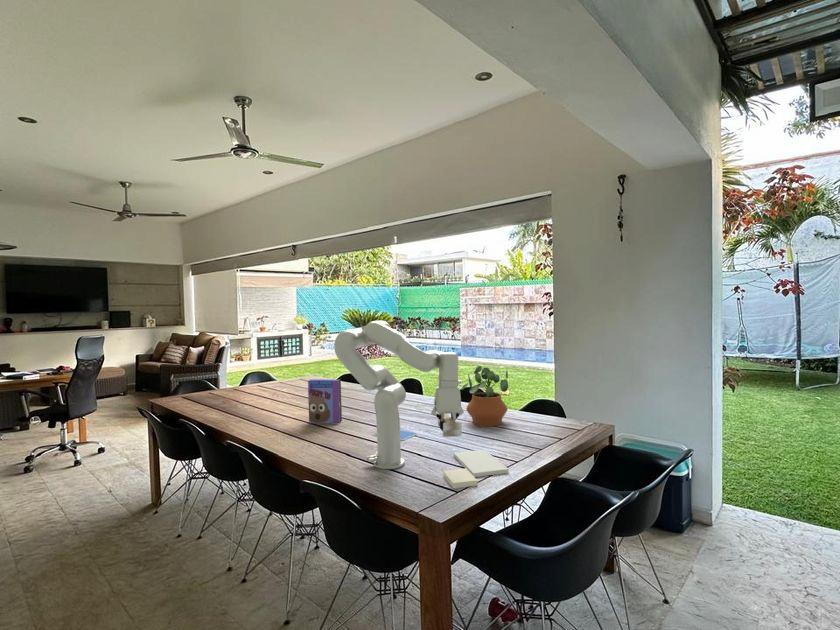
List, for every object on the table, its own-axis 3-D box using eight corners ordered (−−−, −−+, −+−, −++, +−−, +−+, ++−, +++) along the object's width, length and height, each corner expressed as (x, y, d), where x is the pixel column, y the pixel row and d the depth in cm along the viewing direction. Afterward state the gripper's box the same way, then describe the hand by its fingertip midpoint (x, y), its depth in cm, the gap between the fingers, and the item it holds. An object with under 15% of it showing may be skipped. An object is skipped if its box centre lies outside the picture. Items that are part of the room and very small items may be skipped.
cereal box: (309, 423, 249) (307, 380, 249) (312, 421, 254) (310, 379, 253) (339, 423, 247) (338, 380, 247) (341, 421, 252) (340, 379, 251)
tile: (443, 477, 169) (453, 489, 157) (443, 470, 169) (453, 483, 157) (465, 474, 171) (477, 486, 159) (465, 468, 171) (477, 480, 159)
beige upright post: (443, 436, 167) (443, 423, 167) (433, 425, 182) (433, 413, 181) (461, 435, 169) (461, 422, 168) (449, 424, 183) (450, 412, 183)
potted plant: (516, 421, 244) (515, 366, 243) (489, 433, 222) (487, 373, 221) (480, 415, 258) (479, 363, 258) (452, 426, 237) (450, 369, 236)
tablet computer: (372, 436, 224) (372, 433, 224) (388, 430, 234) (388, 427, 234) (403, 442, 213) (403, 439, 213) (418, 435, 223) (418, 432, 223)
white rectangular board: (473, 477, 167) (473, 473, 167) (453, 456, 190) (453, 452, 190) (508, 472, 170) (508, 469, 170) (484, 452, 193) (484, 449, 193)
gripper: (464, 381, 180) (463, 426, 180) (425, 382, 176) (424, 428, 176) (471, 385, 172) (470, 432, 173) (430, 386, 169) (429, 434, 169)
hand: (447, 429), depth 175 cm, fingers closed on beige upright post, 3 cm apart
